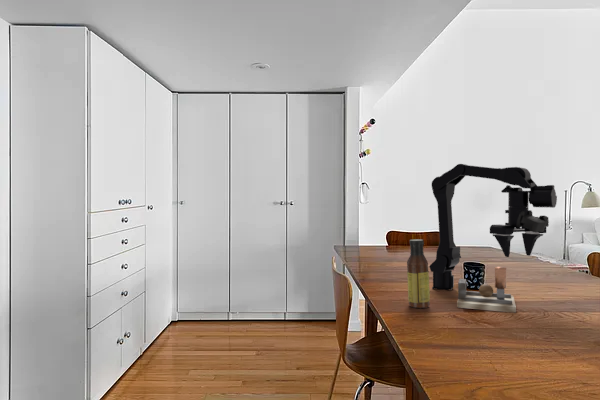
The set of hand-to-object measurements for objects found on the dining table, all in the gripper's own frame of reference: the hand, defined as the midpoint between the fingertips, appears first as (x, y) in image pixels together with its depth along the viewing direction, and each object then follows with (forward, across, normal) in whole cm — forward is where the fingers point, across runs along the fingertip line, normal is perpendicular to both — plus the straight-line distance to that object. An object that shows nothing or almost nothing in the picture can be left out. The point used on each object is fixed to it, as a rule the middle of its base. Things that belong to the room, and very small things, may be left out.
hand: (517, 256), depth 141 cm
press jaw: (+12, -11, -3) cm, 16 cm away
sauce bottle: (+14, -34, +5) cm, 38 cm away
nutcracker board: (+14, -14, 0) cm, 19 cm away
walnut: (+12, -14, 0) cm, 18 cm away
